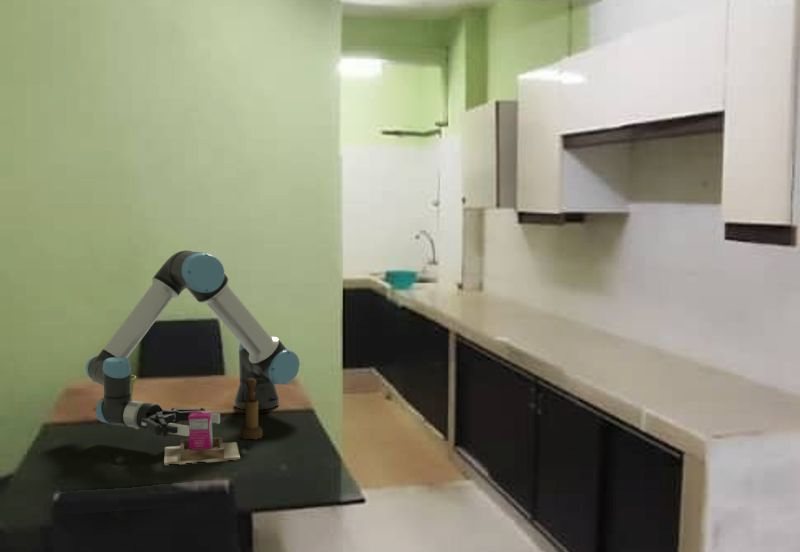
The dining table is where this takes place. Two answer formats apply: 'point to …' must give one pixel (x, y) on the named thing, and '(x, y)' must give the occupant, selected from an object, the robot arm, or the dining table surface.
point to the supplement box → (200, 430)
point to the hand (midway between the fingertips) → (204, 424)
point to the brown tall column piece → (251, 414)
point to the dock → (201, 453)
